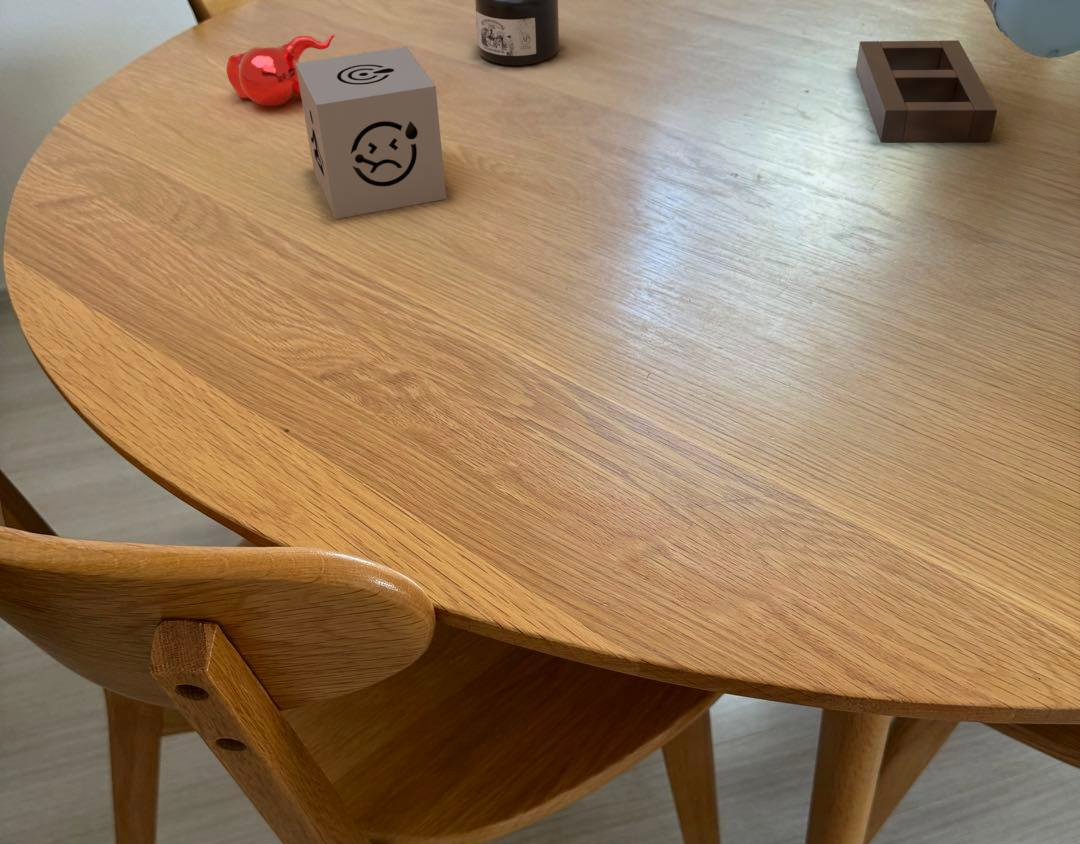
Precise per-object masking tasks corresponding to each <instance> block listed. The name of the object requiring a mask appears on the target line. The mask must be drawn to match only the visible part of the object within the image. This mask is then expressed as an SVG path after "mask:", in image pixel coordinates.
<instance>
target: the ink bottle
mask: <svg viewBox="0 0 1080 844" xmlns="http://www.w3.org/2000/svg"><path fill="white" fill-rule="evenodd" d="M474 1H475V18H476V21H475V22H476V33H477V44H478V46H477V47H478V52H479V54H480V56H481V57H482V58H483V59H485V60H487V61H490V62H493V63H496V64H501V65H506V66H507V65H508V66H524V65H532V64H536V63H539V62H542V61H546V60H547V59H550V58H552V57H553V56H554V55H556V54H557V53H558V51H559V48H560V26H559V25H560V24H559V23H560V22H559V0H474Z"/></svg>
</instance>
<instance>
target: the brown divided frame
mask: <svg viewBox="0 0 1080 844" xmlns="http://www.w3.org/2000/svg"><path fill="white" fill-rule="evenodd" d="M856 58H857V59H856V65H855V72H856V75H857V78H858V81H859V84H860V88H861V89H862V93H863V96H864V99H865V101H866V104H867V107H868V110H869V112H870V116H871V118H872V121H873V124H874V127H875V130H876V134H877V136H878V139H879V142H880V143H989V142H991V140H992V135H993V131H994V127H995V123H996V117H997V112H998V109H997V107H996V106H995V104H994V102H993V100H992V98H991V96H990V94H989V93H988V91H987V89H986V88H985V85H984V84H983V82H982V80H981V78H980V76H979V74H978V73H977V71H976V69H975V67H974V66H973V64H972V62H971V60H970V57H969V56H968V55H967V53H966V51H965V49H964V47H963V45H962V44H961V42H960V40H956V39H955V40H954V39H953V40H881V41H879V40H873V41H869V40H868V41H865V40H864V41H863V40H861V41H859V45H858V52H857V57H856Z"/></svg>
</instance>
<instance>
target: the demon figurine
mask: <svg viewBox="0 0 1080 844" xmlns="http://www.w3.org/2000/svg"><path fill="white" fill-rule="evenodd" d="M335 35H336V33H335V34H332V35H331V36H330V37H329V38H328V39H326V41H324V42H322V41H319V40H316V39H315V38H314V37H312V36H309V35H300V36H296V37H294V38H292V39H291V40H290V41H288V42H287V43H284V44H282V45H277V46H269V47H267V46H266V47H262V46H254V47H251V48H250V49H248V51H245V52H241V53H238V54H231V55H230V56H229V57H228V59H227V63H226V70H225V71H226V77H227V79H228V81H229V83H230V85H231V86H232V88H233V89H234V91H235V93H236V95H237V96H238V97H239V98H241V99H246V98H247V99H248V98H249V99H250V100H251V101H252V102H254V103H256V104H258V105H261V106H264V107H265V106H266V107H277V106H281V105H284V104H285V103H287V102H288V101H290V100H291V98H293V97H294V96H296V97H301V93H300V87H299V81H298V75H297V70H296V64H295V63H300V58H301V56H302V54H303V53H304V52H305V51H306V50H307V49H316V50H326V49H328V48H329V47H330V45H331V42H332V41H333V39H334V38H335V37H336V36H335Z"/></svg>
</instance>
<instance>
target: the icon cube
mask: <svg viewBox="0 0 1080 844" xmlns="http://www.w3.org/2000/svg"><path fill="white" fill-rule="evenodd" d="M295 64H296V70H297V75H298V81H299V87H300V93H301V96H300V98H301V104H302V110H303V116H304V121H305V126H306V133H307V137H308V144H309V150H310V155H311V161H312V167H313V173H314V176H315V178H316V180H317V182H318V184H319V187H320V189H321V191H322V193H323V196H324V197H325V201H326V203H327V204H328V206H329V208H330V211H331V213H332V215H333V217H334V220H339V219H343V218H350V217H354V216H361V215H366V214H372V213H377V212H383V211H387V210H388V211H389V210H393V209H399V208H405V207H409V206H411V207H412V206H416V205H421V204H427V203H432V202H437V201H438V202H439V201H444V200H447V192H446V191H447V190H446V181H445V170H444V159H443V150H442V149H443V148H442V140H441V139H442V138H441V127H440V119H439V117H440V116H439V108H438V107H439V105H438V96H437V86H436V84H435V83H434V82H433V80H432V79H431V78H430V76H429V75H428V73H427V72H426V70H425V69H424V68H423V66H422V65H421V64H420V62H419V61H418V60H417V58H416V57H415V55H414V54H413V52H412V51H411V50H410V48H409V47H408V46H399V47H393V48H388V49H379V50H373V51H368V52H360V53H354V54H348V55H342V56H341V55H340V56H335V57H328V58H321V59H314V60H308V61H302V62H298V63H295Z"/></svg>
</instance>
